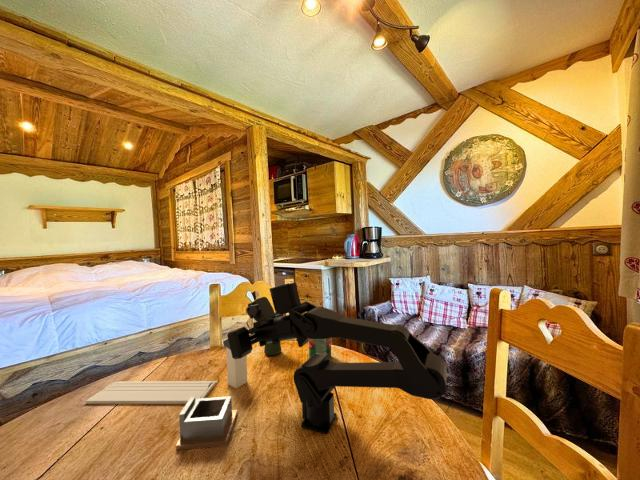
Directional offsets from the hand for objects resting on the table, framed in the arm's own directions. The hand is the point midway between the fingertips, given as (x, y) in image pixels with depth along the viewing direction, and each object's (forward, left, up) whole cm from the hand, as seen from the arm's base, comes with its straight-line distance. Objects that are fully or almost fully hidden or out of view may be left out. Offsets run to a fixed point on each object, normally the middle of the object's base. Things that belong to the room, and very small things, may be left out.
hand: (236, 337), depth 73 cm
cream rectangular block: (+4, -5, -16) cm, 17 cm away
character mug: (+5, -26, -16) cm, 31 cm away
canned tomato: (-13, -28, -16) cm, 35 cm away
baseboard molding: (+23, +6, -17) cm, 29 cm away
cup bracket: (-3, +13, -16) cm, 21 cm away
